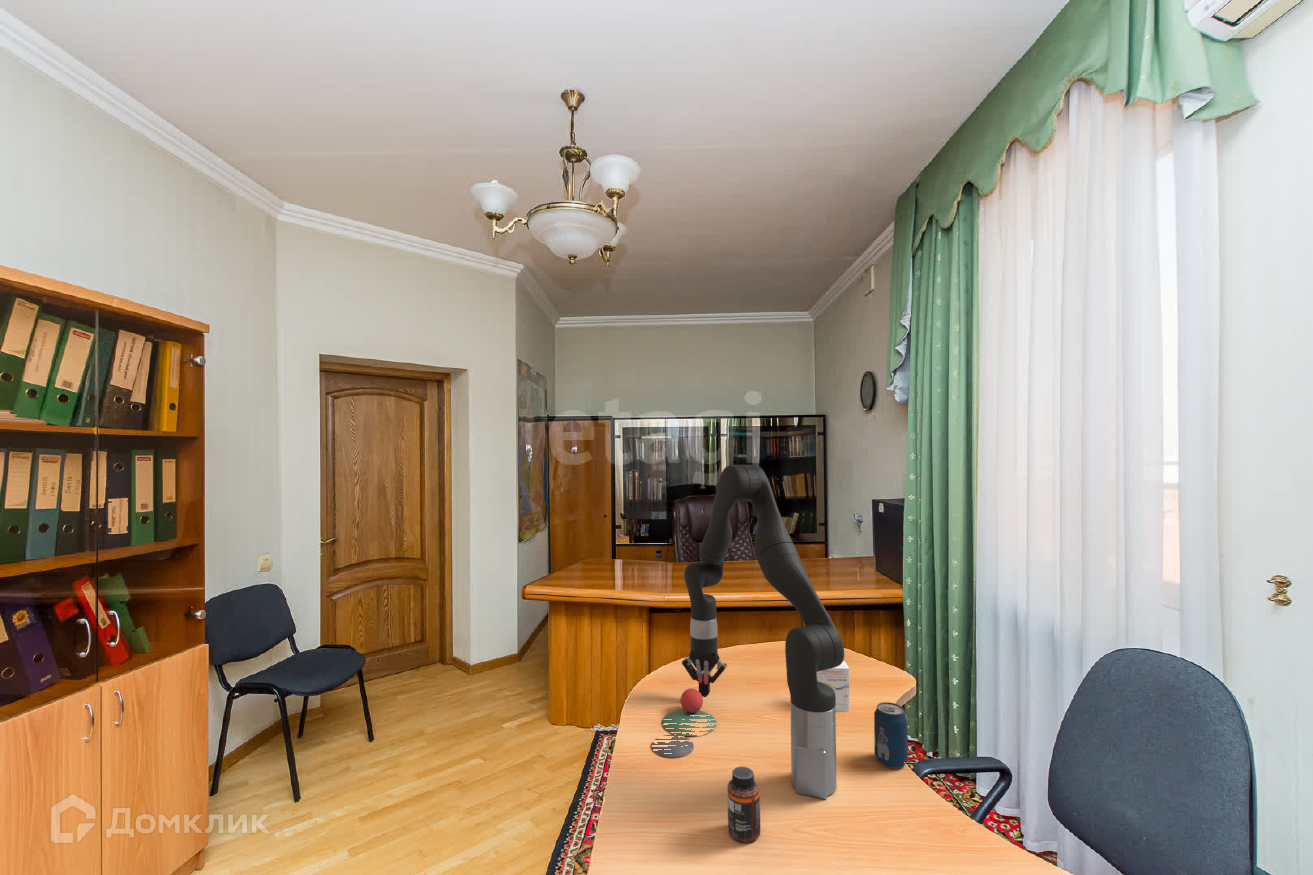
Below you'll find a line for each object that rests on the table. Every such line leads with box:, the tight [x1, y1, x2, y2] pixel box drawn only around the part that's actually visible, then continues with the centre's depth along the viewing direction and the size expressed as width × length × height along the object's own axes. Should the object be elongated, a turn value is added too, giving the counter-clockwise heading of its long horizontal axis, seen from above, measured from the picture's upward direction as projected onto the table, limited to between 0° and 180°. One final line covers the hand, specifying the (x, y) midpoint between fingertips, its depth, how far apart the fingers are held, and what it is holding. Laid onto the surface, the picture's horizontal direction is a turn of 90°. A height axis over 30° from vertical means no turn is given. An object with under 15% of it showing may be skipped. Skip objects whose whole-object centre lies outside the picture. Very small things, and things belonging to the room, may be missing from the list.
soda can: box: [873, 701, 909, 769], centre depth 130 cm, size 7×7×12 cm
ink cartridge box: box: [817, 650, 850, 712], centre depth 156 cm, size 9×5×15 cm, turn 84°
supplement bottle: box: [726, 766, 761, 843], centre depth 107 cm, size 6×6×11 cm
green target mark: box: [661, 708, 717, 736], centre depth 148 cm, size 14×14×1 cm
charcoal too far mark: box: [651, 734, 694, 759], centre depth 137 cm, size 10×10×1 cm
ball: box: [680, 688, 704, 713], centre depth 154 cm, size 6×6×6 cm
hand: (704, 695), depth 160 cm, fingers closed
